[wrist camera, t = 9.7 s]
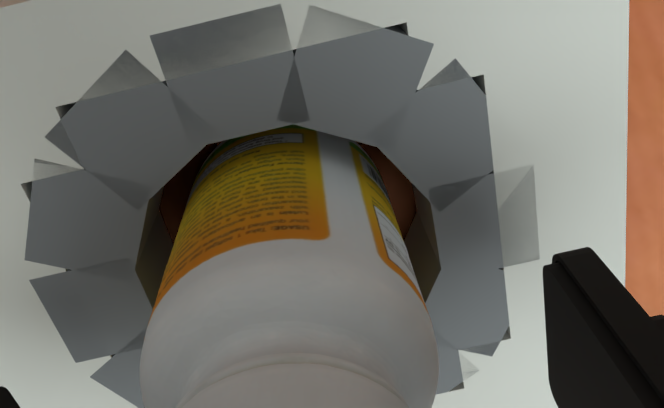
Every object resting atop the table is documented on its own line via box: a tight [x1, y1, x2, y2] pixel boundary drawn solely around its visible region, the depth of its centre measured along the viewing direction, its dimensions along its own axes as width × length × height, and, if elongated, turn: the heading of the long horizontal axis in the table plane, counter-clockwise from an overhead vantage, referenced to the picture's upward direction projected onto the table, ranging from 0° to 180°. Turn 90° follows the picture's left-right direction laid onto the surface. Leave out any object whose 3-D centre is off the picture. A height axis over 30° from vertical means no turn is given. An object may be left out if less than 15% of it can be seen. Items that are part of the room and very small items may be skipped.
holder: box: [0, 0, 629, 408], centre depth 15 cm, size 14×16×3 cm
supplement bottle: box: [140, 124, 439, 408], centre depth 12 cm, size 5×5×10 cm
